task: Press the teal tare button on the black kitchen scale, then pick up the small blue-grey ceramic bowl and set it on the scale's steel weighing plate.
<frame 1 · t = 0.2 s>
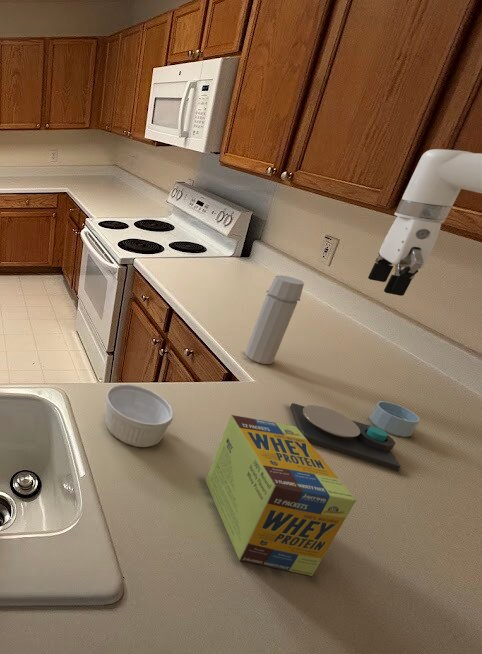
hand: (384, 286, 92), 31 cm above the countertop, tool pointing down, fingers open, 9 cm apart
protein box: (252, 524, 68), on the countertop
water bottle: (257, 358, 121), on the countertop
scale plate: (324, 432, 91), resting on scale
tare button: (377, 433, 87), point 3 cm above the countertop, slide at 0.1 cm
scale: (338, 436, 90), on the countertop
bowl: (388, 427, 95), on the countertop
ramekin: (131, 430, 87), on the countertop
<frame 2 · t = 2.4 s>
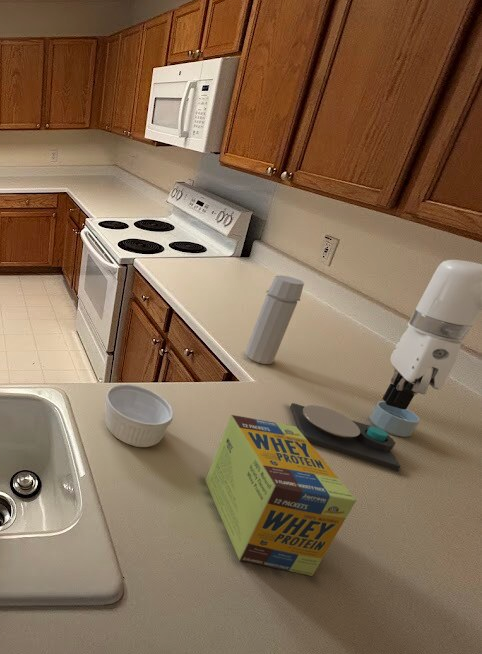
hand: (393, 404, 84), 11 cm above the countertop, tool pointing down, fingers closed
nothing on the countertop moved.
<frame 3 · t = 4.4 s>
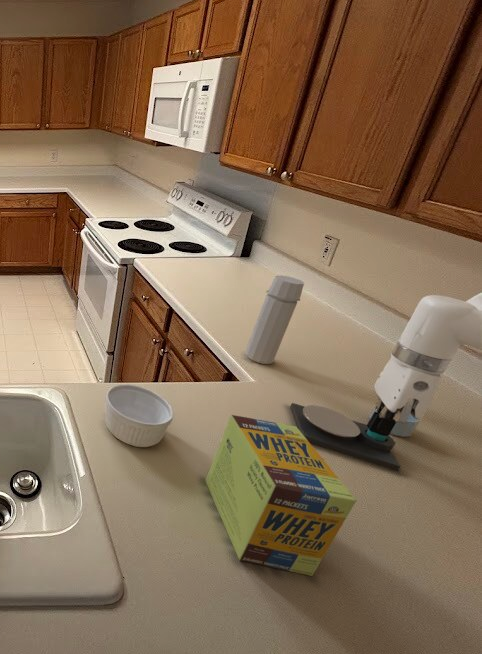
hand: (376, 431, 87), 4 cm above the countertop, tool pointing down, fingers closed
tare button: (376, 434, 87), point 3 cm above the countertop, slide at -0.1 cm, touching gripper
everything else where it was.
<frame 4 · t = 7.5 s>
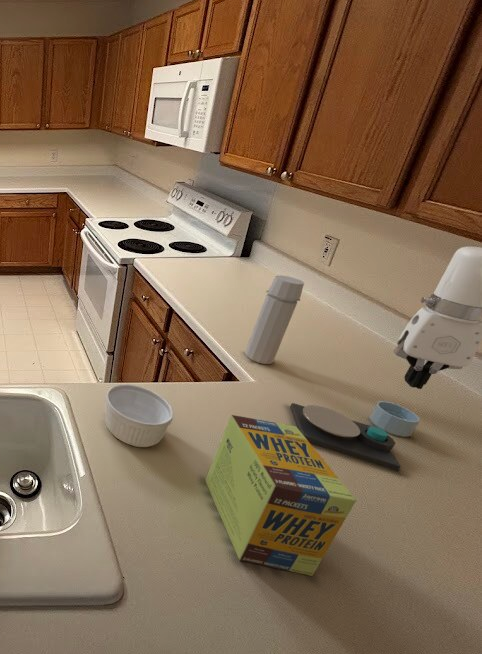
hand: (412, 384, 89), 13 cm above the countertop, tool pointing down, fingers closed
tare button: (377, 433, 87), point 3 cm above the countertop, slide at 0.1 cm
everything else where it was.
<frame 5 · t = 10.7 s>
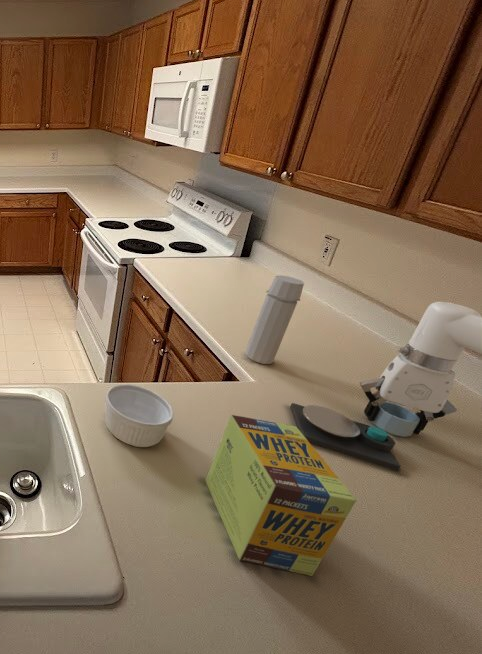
hand: (390, 423, 94), 1 cm above the countertop, tool pointing down, fingers closed on bowl, 7 cm apart
bowl: (388, 427, 95), on the countertop, touching gripper
everything else where it was.
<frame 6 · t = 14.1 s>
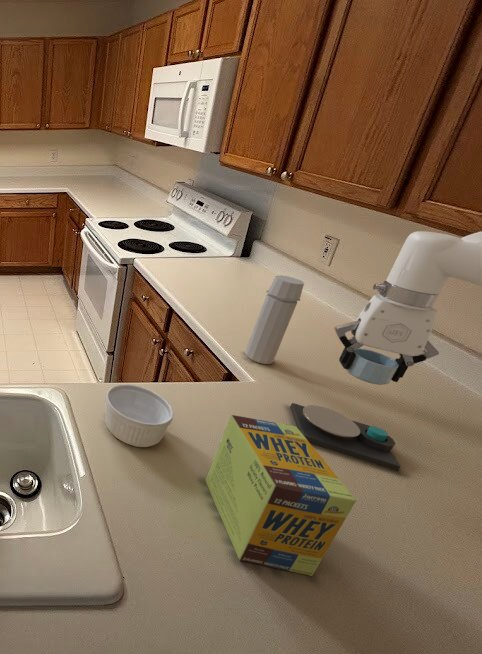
hand: (367, 371, 86), 16 cm above the countertop, tool pointing down, fingers closed on bowl, 7 cm apart
bowl: (365, 375, 87), point 15 cm above the countertop, touching gripper
everything else where it was.
when the fingers open (4 cm above the countertop, at t = 17.5 s): bowl stays where it is, resting on scale plate.
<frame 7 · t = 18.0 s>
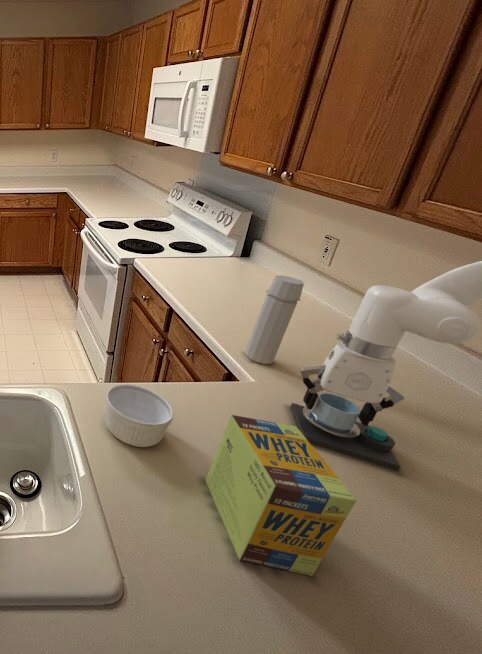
hand: (334, 413, 89), 5 cm above the countertop, tool pointing down, fingers open, 9 cm apart
bowl: (330, 419, 90), point 3 cm above the countertop, touching scale plate
everything else where it was.
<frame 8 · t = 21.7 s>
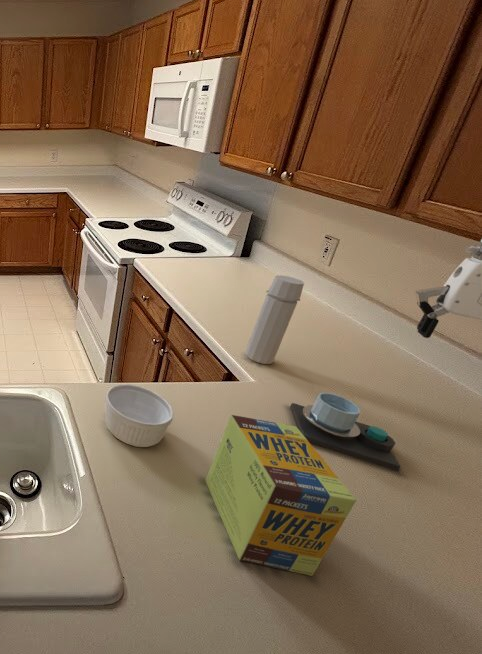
hand: (456, 342, 78), 26 cm above the countertop, tool pointing down, fingers open, 9 cm apart
nothing on the countertop moved.
at the end: tare button pushed in 1.0 cm at the most during the clip, back to where it started at the end; bowl inside the target area on the scale (0.1 cm from its centre), point 3.4 cm above the scale's base; bowl tilted 0° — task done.
